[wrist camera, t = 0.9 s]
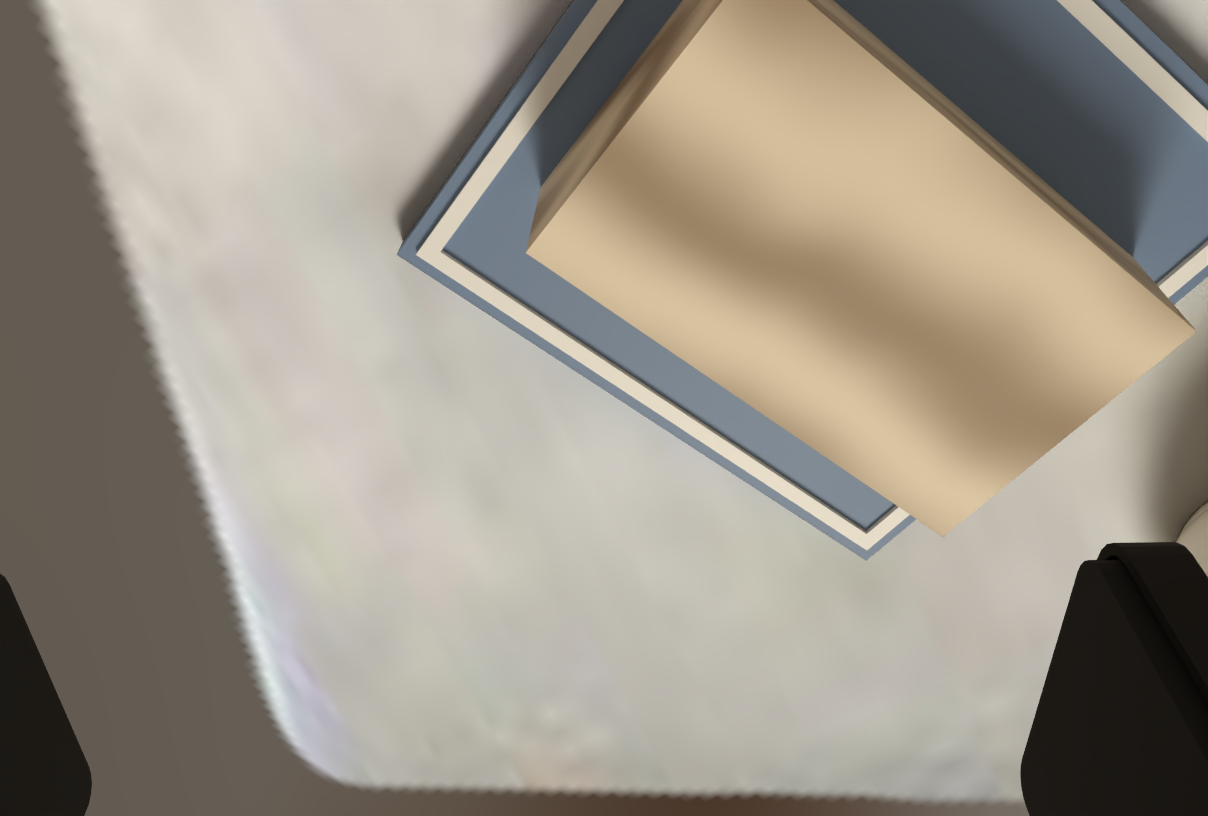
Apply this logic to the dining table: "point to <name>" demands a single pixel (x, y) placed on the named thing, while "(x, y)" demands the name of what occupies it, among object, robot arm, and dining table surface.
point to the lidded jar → (1197, 536)
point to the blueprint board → (842, 233)
